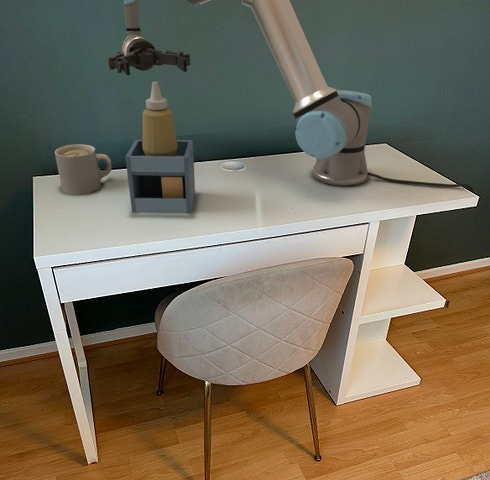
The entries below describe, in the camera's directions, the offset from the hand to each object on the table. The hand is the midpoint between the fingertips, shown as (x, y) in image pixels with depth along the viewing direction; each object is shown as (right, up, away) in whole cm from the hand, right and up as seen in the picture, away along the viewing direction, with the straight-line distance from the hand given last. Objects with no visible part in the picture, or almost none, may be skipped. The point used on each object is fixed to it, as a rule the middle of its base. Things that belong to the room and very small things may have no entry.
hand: (157, 67), depth 118 cm
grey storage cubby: (+1, -31, +7) cm, 32 cm away
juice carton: (+3, -31, +6) cm, 31 cm away
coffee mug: (-21, -25, +16) cm, 37 cm away
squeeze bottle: (+1, -22, +1) cm, 23 cm away
